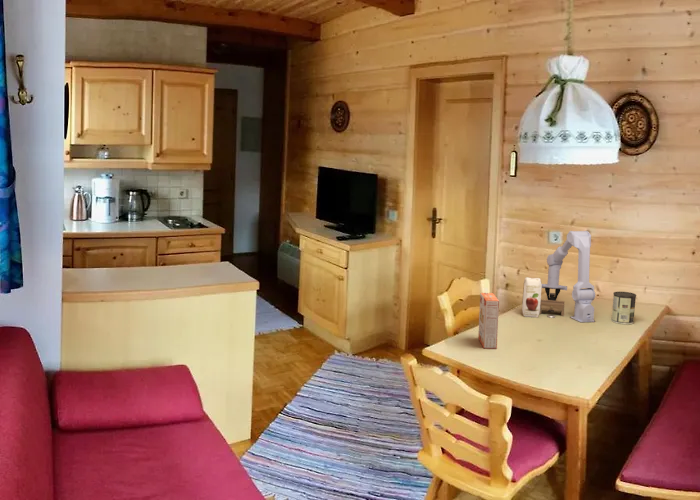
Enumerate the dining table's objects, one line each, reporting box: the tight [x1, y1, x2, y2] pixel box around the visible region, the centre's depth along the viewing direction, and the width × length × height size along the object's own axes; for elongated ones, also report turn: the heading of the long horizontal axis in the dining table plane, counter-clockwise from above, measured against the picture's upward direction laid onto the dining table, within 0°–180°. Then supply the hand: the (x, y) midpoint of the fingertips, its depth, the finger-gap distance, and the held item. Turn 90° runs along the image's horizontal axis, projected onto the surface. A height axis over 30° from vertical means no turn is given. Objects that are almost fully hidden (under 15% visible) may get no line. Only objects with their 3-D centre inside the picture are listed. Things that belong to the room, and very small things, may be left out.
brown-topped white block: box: [547, 292, 555, 313], centre depth 347 cm, size 15×3×7 cm, turn 163°
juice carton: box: [521, 276, 543, 318], centre depth 330 cm, size 8×9×19 cm
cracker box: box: [477, 292, 500, 350], centre depth 281 cm, size 14×6×21 cm, turn 178°
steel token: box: [546, 314, 556, 319], centre depth 330 cm, size 4×4×1 cm
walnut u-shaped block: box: [539, 299, 566, 317], centre depth 336 cm, size 8×12×6 cm
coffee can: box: [610, 291, 637, 325], centre depth 324 cm, size 10×10×14 cm
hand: (551, 302), depth 354 cm, fingers closed on brown-topped white block, 2 cm apart
